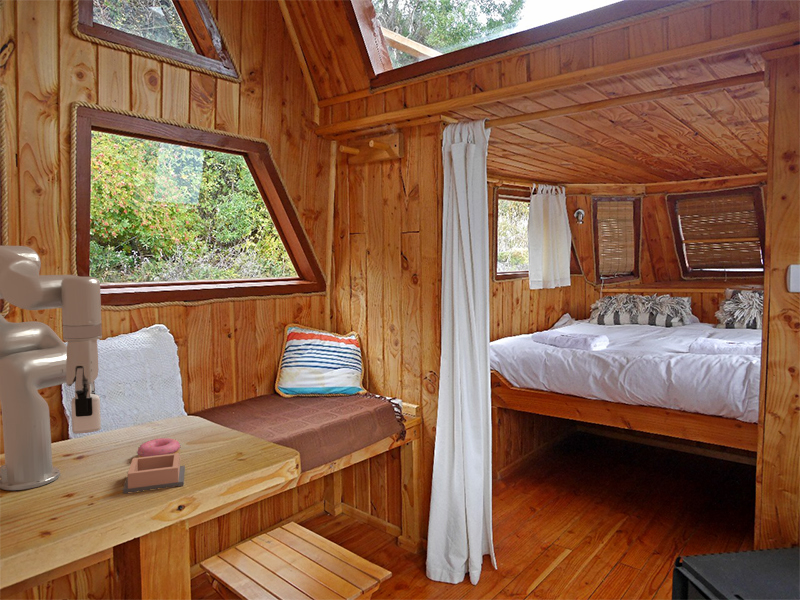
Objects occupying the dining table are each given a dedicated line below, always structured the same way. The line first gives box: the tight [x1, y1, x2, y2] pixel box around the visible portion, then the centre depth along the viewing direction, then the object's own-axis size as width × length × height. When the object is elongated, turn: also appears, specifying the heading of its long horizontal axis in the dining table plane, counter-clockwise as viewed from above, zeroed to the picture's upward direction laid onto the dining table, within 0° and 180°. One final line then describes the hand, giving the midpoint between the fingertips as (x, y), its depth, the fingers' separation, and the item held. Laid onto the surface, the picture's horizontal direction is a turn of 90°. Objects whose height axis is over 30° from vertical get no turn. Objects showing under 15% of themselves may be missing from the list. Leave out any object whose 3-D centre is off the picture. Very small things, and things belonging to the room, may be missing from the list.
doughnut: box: [136, 437, 181, 458], centre depth 153 cm, size 11×11×4 cm
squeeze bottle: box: [70, 381, 102, 435], centre depth 125 cm, size 4×6×12 cm
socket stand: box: [122, 452, 186, 494], centre depth 136 cm, size 13×11×4 cm
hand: (86, 412), depth 126 cm, fingers closed on squeeze bottle, 3 cm apart
